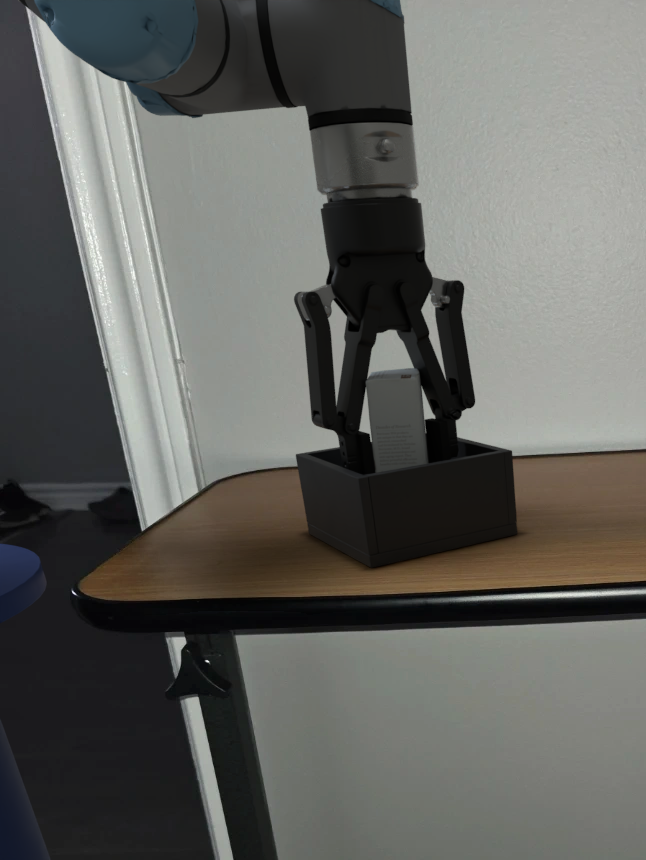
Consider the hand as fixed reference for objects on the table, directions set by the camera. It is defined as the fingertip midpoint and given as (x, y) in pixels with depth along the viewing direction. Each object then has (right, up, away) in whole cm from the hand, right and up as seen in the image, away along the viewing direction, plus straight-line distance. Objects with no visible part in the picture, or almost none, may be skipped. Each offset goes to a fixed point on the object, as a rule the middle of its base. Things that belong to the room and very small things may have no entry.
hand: (407, 504), depth 80 cm
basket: (0, -2, +1) cm, 3 cm away
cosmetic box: (0, -1, +1) cm, 2 cm away
